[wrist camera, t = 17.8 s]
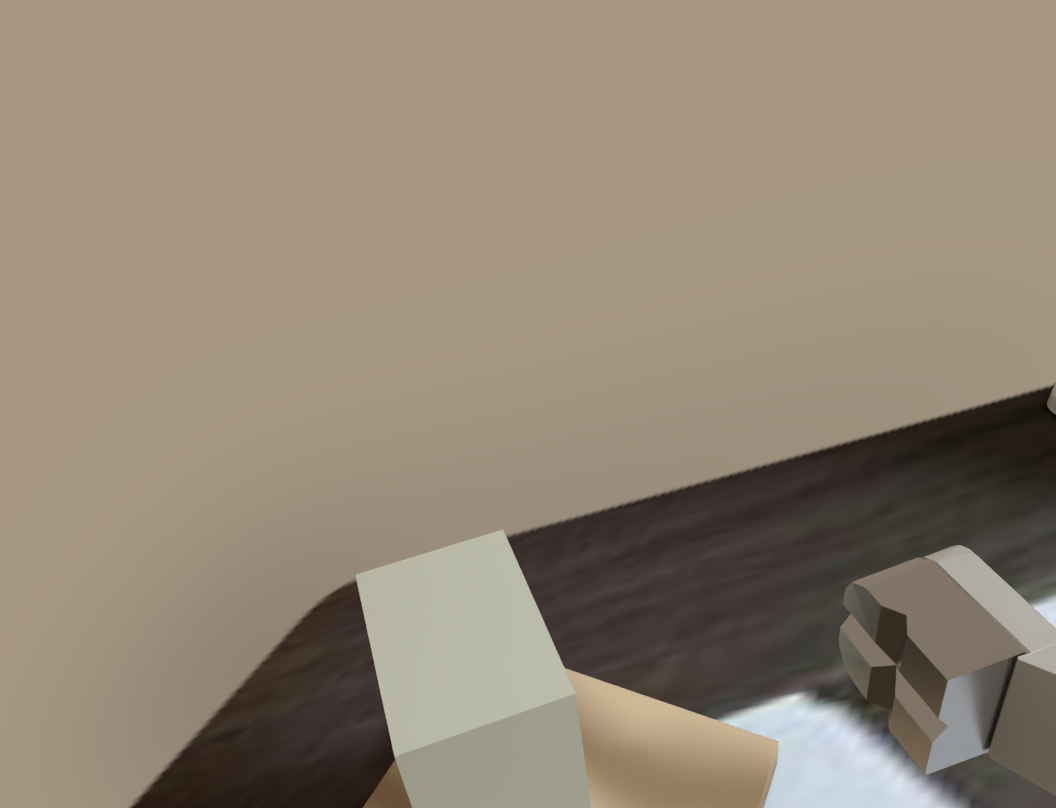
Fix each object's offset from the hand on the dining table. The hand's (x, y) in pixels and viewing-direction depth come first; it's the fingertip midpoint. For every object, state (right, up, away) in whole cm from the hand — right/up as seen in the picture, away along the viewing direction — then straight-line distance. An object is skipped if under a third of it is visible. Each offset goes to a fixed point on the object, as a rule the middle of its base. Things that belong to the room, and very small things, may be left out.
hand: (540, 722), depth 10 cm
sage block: (-1, -13, +22) cm, 26 cm away
